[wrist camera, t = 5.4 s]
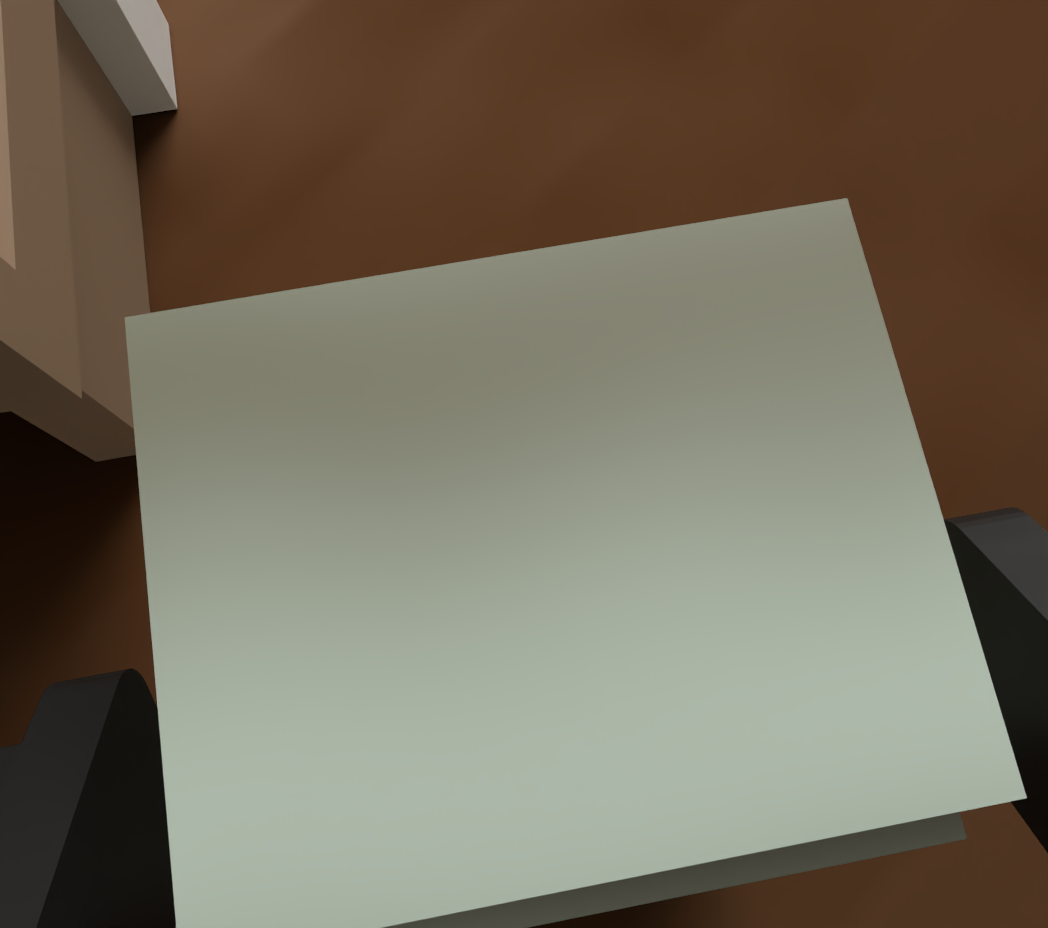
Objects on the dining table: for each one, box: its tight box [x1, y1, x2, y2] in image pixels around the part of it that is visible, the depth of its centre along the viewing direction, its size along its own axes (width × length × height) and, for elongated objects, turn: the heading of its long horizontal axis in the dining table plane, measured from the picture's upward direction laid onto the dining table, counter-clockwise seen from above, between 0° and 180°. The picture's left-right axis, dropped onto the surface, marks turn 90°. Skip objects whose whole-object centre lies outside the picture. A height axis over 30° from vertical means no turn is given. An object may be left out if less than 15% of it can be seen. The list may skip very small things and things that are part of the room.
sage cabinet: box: [125, 198, 1027, 928], centre depth 11 cm, size 6×6×10 cm
